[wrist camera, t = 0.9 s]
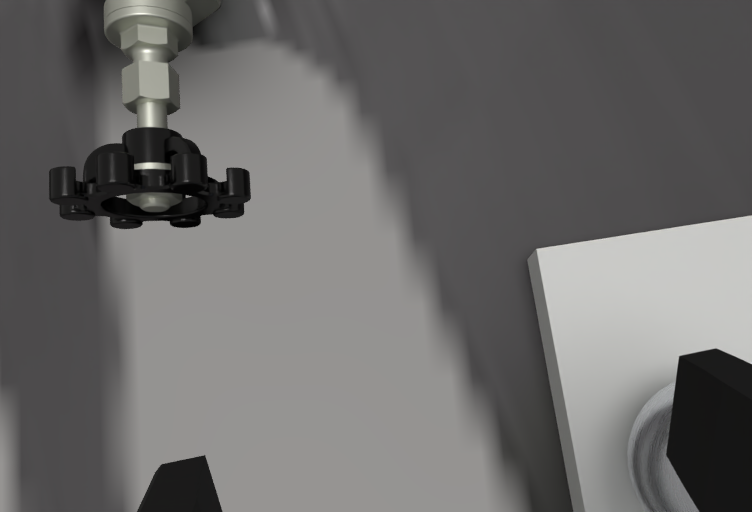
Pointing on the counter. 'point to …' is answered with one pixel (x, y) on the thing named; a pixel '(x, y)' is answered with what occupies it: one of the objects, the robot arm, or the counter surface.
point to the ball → (655, 458)
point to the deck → (633, 335)
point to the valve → (150, 132)
